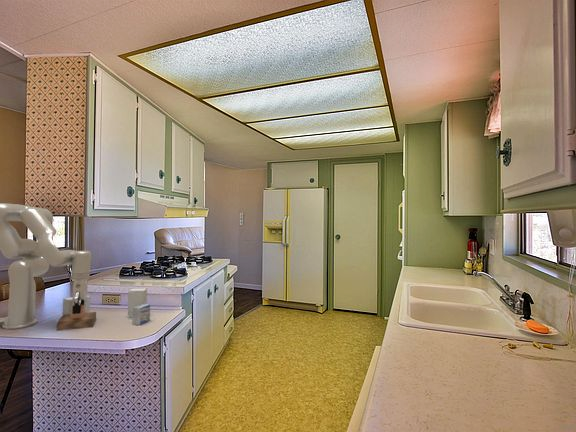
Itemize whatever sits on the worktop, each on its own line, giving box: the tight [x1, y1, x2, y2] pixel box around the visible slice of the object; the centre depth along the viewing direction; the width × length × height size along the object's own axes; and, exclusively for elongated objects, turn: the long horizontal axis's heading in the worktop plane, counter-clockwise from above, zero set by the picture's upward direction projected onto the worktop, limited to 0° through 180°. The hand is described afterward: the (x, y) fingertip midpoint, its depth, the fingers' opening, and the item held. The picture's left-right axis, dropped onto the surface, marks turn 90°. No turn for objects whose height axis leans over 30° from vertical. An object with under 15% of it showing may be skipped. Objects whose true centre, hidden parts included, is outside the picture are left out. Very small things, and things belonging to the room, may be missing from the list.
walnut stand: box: [56, 311, 97, 332], centre depth 144 cm, size 14×12×4 cm
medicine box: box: [131, 303, 151, 326], centre depth 150 cm, size 8×4×9 cm, turn 168°
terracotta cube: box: [71, 305, 85, 319], centre depth 144 cm, size 5×5×5 cm
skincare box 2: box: [127, 287, 148, 319], centre depth 160 cm, size 8×6×15 cm
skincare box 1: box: [62, 295, 91, 315], centre depth 156 cm, size 10×6×10 cm, turn 152°
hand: (78, 310), depth 144 cm, fingers open, 9 cm apart
